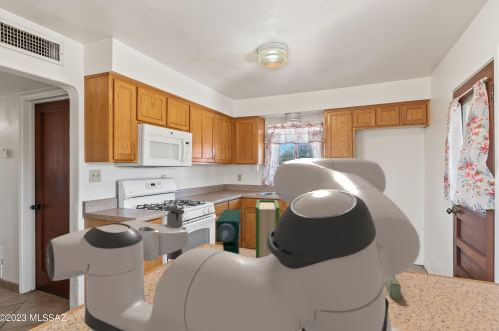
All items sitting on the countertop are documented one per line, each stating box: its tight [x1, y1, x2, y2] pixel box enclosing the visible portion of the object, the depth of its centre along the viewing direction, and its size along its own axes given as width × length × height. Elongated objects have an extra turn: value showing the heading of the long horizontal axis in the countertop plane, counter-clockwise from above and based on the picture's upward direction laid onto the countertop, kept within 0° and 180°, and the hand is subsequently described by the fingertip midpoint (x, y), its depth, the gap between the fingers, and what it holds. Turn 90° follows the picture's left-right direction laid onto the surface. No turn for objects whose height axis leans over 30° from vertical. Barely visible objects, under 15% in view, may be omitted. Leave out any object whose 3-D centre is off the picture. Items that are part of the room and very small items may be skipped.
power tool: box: [215, 209, 242, 255], centre depth 89 cm, size 32×7×20 cm, turn 179°
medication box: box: [384, 276, 402, 300], centre depth 80 cm, size 12×3×4 cm, turn 164°
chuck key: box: [165, 205, 185, 261], centre depth 72 cm, size 8×4×13 cm, turn 45°
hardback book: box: [255, 199, 280, 258], centre depth 93 cm, size 18×7×24 cm, turn 177°
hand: (177, 228), depth 73 cm, fingers closed on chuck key, 4 cm apart
